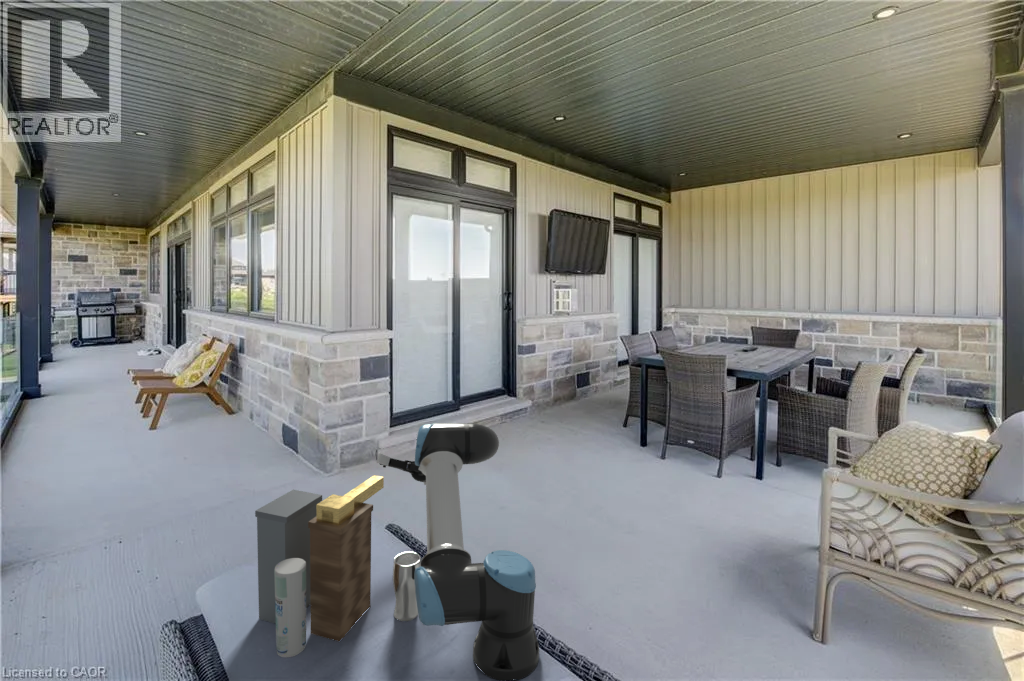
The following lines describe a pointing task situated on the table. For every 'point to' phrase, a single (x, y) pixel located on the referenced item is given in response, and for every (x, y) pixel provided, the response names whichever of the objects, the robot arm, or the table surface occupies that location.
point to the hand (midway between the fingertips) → (399, 461)
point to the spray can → (290, 606)
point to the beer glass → (405, 585)
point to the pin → (347, 501)
